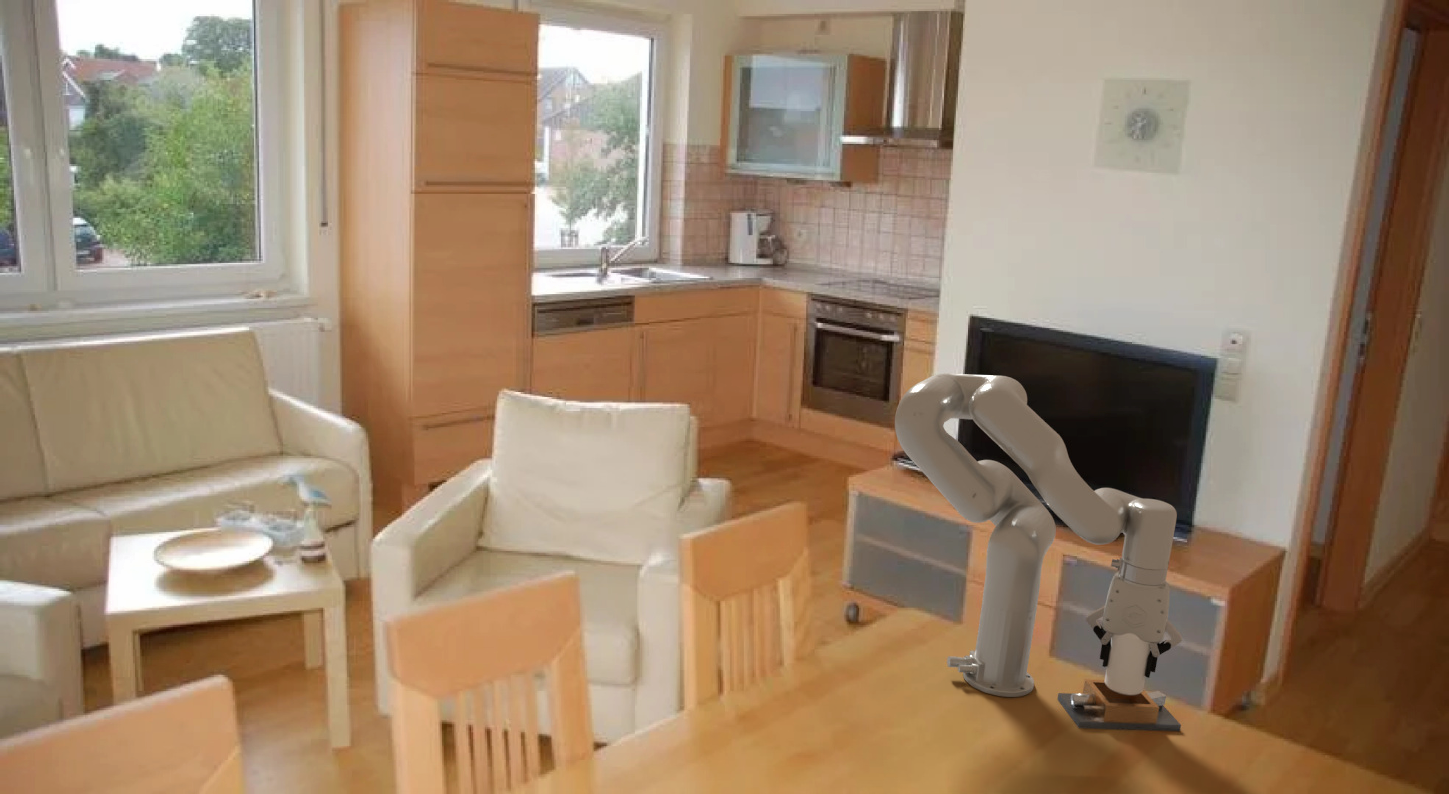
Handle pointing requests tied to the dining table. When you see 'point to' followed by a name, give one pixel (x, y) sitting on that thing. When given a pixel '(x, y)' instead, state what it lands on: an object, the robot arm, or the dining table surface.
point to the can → (1127, 664)
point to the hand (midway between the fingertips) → (1126, 668)
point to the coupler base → (1117, 709)
